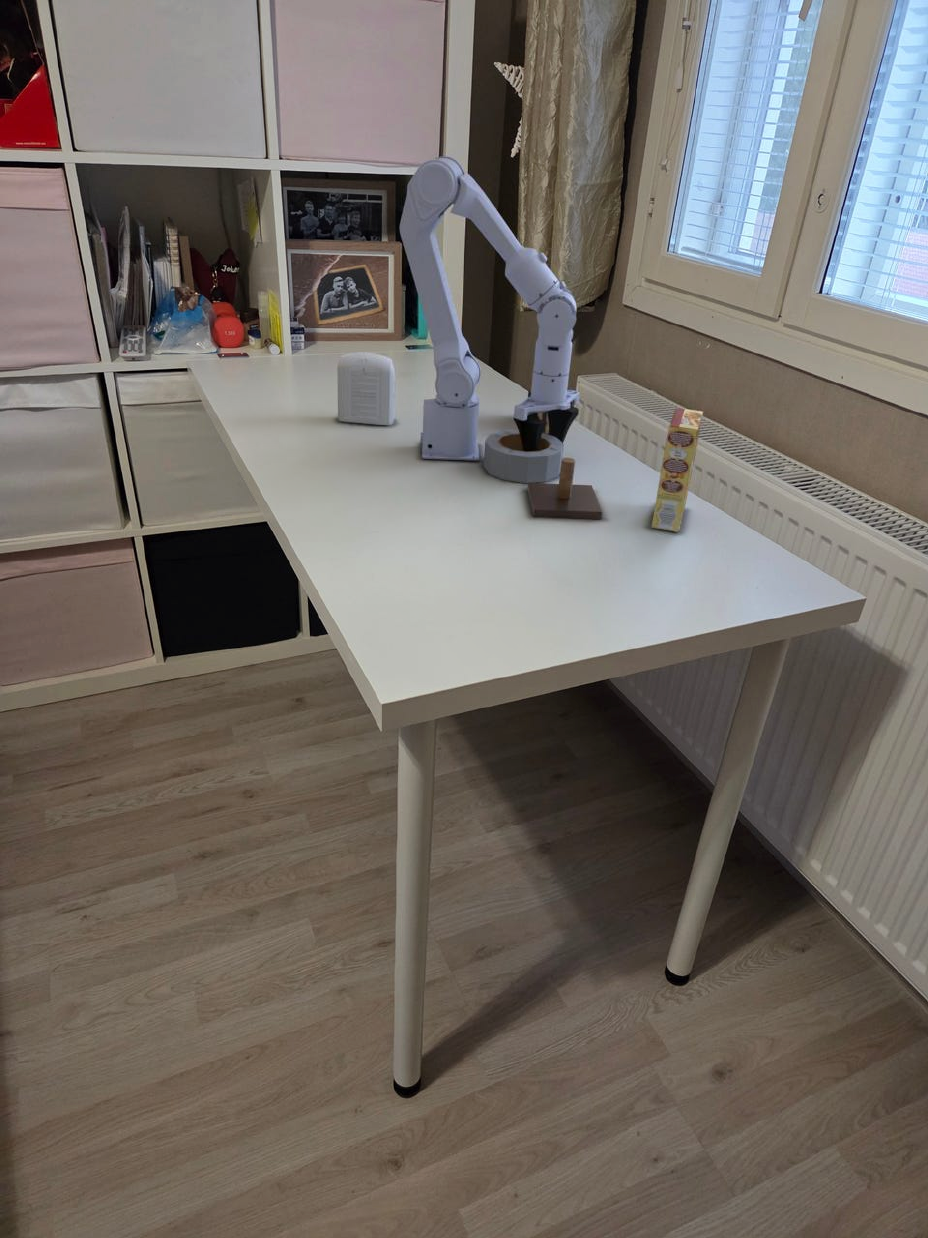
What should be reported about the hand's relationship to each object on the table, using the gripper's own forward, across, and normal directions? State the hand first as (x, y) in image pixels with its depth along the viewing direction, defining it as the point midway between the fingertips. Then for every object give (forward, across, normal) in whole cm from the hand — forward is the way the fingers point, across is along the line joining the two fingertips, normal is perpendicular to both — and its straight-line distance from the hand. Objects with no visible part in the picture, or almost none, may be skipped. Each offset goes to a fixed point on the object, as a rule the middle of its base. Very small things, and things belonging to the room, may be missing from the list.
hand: (542, 453), depth 142 cm
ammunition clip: (+2, +14, +12) cm, 19 cm away
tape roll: (+1, -5, 0) cm, 5 cm away
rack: (+1, -12, -13) cm, 18 cm away
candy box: (+2, -4, -27) cm, 27 cm away
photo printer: (+2, -10, +33) cm, 35 cm away
